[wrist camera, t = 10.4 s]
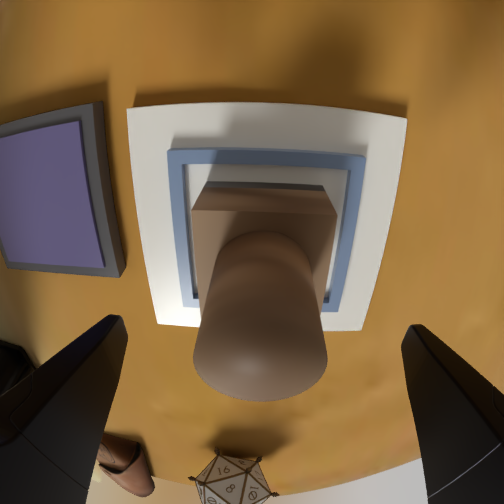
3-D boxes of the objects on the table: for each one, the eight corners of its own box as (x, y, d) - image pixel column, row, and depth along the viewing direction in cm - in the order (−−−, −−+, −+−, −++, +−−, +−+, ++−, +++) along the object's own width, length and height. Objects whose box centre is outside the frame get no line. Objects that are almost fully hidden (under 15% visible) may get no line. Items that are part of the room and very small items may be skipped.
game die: (222, 431, 33) (162, 485, 26) (246, 427, 26) (172, 497, 20) (274, 477, 31) (220, 532, 25) (309, 481, 25) (245, 551, 18)
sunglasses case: (75, 423, 28) (88, 473, 24) (129, 414, 32) (147, 461, 27) (106, 470, 38) (119, 505, 33) (145, 462, 41) (160, 495, 36)
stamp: (211, 277, 16) (181, 406, 9) (206, 181, 13) (152, 288, 7) (310, 280, 16) (332, 411, 9) (322, 185, 13) (374, 295, 7)
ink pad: (15, 260, 17) (5, 269, 16) (-16, 130, 12) (-29, 135, 11) (126, 267, 17) (118, 280, 16) (102, 101, 12) (90, 103, 11)
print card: (160, 316, 18) (155, 329, 17) (132, 107, 12) (122, 110, 11) (358, 323, 18) (362, 336, 17) (401, 117, 12) (412, 120, 11)
